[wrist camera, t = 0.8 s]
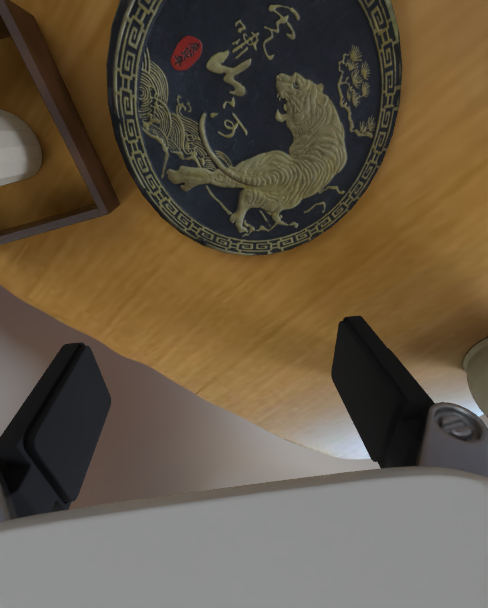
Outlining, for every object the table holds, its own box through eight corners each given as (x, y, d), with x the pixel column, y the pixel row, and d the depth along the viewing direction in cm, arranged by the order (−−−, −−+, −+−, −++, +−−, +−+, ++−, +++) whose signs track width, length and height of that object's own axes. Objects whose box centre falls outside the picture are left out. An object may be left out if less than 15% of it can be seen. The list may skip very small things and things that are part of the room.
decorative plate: (26, 36, 25) (358, -239, 19) (37, 41, 26) (347, -212, 21) (212, 295, 40) (428, 180, 34) (212, 289, 41) (418, 177, 36)
